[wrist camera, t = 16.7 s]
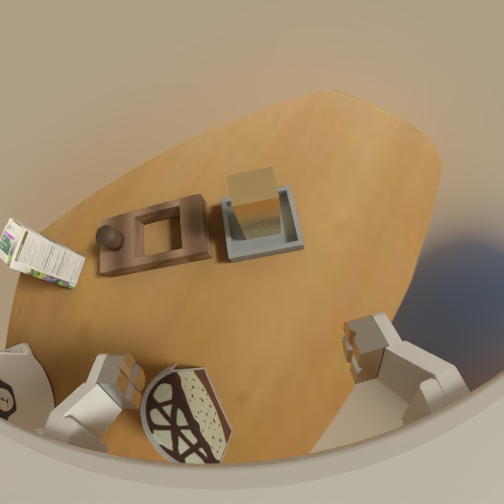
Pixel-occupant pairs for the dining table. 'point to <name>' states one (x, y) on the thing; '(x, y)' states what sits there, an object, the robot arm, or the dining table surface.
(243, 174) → the gold rectangular block
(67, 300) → the dining table surface
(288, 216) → the tray
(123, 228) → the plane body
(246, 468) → the robot arm
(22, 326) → the dining table surface
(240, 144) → the dining table surface
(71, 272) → the syrup box
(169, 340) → the dining table surface
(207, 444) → the food container
